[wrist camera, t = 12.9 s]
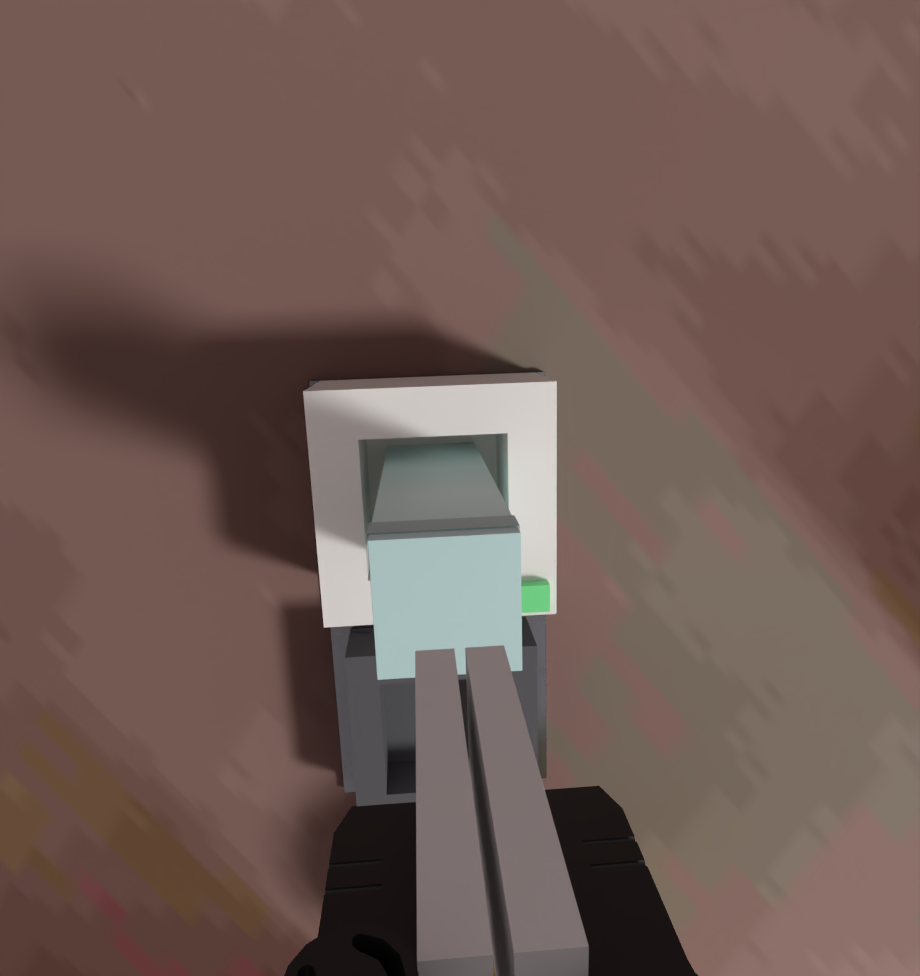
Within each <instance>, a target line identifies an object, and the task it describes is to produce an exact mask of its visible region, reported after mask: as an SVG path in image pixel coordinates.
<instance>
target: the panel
mask: <svg viewBox="0 0 920 976" xmlns="http://www.w3.org/2000/svg"><path fill="white" fill-rule="evenodd" d="M517 373H534V372H517ZM535 373H537V374H540V375H542V376H545V372H544V371H543V372H535ZM491 374H508V373H491ZM465 375H482V374H465ZM439 376H456V375H439ZM414 377H431V376H414ZM388 378H405V377H388ZM362 379H379V378H362ZM336 380H353V379H336ZM319 381H328V380H310V381H309V385H310V387H311V386H312V385H314V384H316V383H317V382H319ZM522 619H527V621H528V623H529V626H530V629H531V631H532V634H533V636H534V639H535V642H536V644H537V707H538V768H539V771H540V775H541V778H546V614H544V615H527V616H522ZM365 628H374V625H359V626H342V627H330V630H331V641H332V653H333V665H334V676H335V688H336V700H337V711H338V723H339V735H340V746H341V758H342V770H343V781H344V793H347V792H356V791H355V779H354V767H353V754H352V742H351V730H350V717H349V705H348V693H347V681H346V668H345V654H346V649H347V644H348V639H349V634H350V629H365Z"/></svg>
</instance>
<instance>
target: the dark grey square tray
mask: <svg viewBox="0 0 920 976" xmlns="http://www.w3.org/2000/svg"><path fill="white" fill-rule="evenodd" d="M345 668H346V681H347V693H348V705H349V717H350V730H351V742H352V754H353V767H354V779H355V791H356V804H357V806H368V805H382V804H395V803H408V802H416V704H415V678H399V679H384V680H378V679H377V668H376V654H375V640H374V628H365V629H350V634H349V639H348V644H347V649H346V654H345ZM511 672H512V676H513V679H514V683H515V686H516V690H517V693H518V697H519V700H520V704H521V707H522V711H523V715H524V718H525V722H526V725H527V729H528V732H529V736H530V739H531V743H532V747H533V750H534V754H535V757H536V761H537V764H538V707H537V644H536V642H535V639H534V636H533V634H532V631H531V629H530V626H529V623H528V621H527V619H522V671H511ZM458 682H459V690H460V698H461V706H462V714H463V722H464V730H465V738H466V745H467V753H468V761H469V743H468V714H467V684H466V674H461V675H458Z"/></svg>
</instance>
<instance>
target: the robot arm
mask: <svg viewBox="0 0 920 976" xmlns="http://www.w3.org/2000/svg"><path fill="white" fill-rule="evenodd" d="M465 655H466V684H467V714H468V743H469V761H468V753H467V745H466V738H465V730H464V722H463V714H462V706H461V698H460V690H459V682H458V674H457V666H456V658H455V650H454V648H452V649H435V650H419V651H415V704H416V802H408V803H395V804H382V805H368V806H355V807H351V809H350V810H349V812H348V813H347V815H346V816H345V818H344V819H343V821H342V822H341V824H340V825H339V826H338V828H337V829H336V831H335V832H334V837H333V843H332V849H331V856H330V862H329V869H328V875H327V882H326V888H325V890H326V891H325V895H324V901H323V907H322V914H321V920H320V927H319V933H318V937H317V938H316V939H314V940H313V941H311V942H309V943H308V944H306V945H305V947H304V948H303V949H302V950H301V951H300V952H299V954H298V955H297V956H296V957H295V958H294V959H293V961H292V962H291V963H290V964H289V965H288V968H287V970H286V973H285V975H284V976H493V961H494V969H495V976H698V975H697V974H696V973H695V972H694V970H693V968H692V967H691V965H690V963H689V961H688V960H687V957H686V955H685V953H684V950H683V948H682V946H681V943H680V941H679V939H678V936H677V934H676V932H675V930H674V927H673V925H672V923H671V920H670V918H669V916H668V913H667V911H666V909H665V906H664V904H663V902H662V899H661V897H660V895H659V892H658V890H657V888H656V885H655V883H654V881H653V878H652V876H651V874H650V871H649V869H648V867H647V866H645V860H644V858H643V855H642V853H641V851H640V848H639V846H638V844H637V842H635V838H634V834H633V832H632V830H631V827H630V825H629V823H628V820H627V818H626V816H625V813H624V811H623V809H622V808H621V807H620V806H619V805H618V804H617V803H616V802H615V801H614V800H613V799H612V798H611V797H610V796H609V795H608V794H607V793H606V792H605V791H604V790H603V789H602V788H601V787H599V786H591V787H578V788H564V789H551V790H545V789H544V786H543V782H542V779H541V775H540V771H539V768H538V764H537V761H536V757H535V754H534V750H533V747H532V743H531V739H530V736H529V732H528V729H527V725H526V722H525V718H524V715H523V711H522V707H521V704H520V700H519V697H518V693H517V690H516V686H515V683H514V679H513V676H512V672H511V668H510V665H509V661H508V658H507V654H506V651H505V647H504V645H500V646H484V647H468V648H465Z"/></svg>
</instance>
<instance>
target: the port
mask: <svg viewBox="0 0 920 976" xmlns="http://www.w3.org/2000/svg"><path fill="white" fill-rule="evenodd" d="M303 397H304V409H305V420H306V431H307V443H308V454H309V465H310V477H311V488H312V499H313V511H314V522H315V533H316V544H317V556H318V567H319V578H320V590H321V601H322V612H323V624H324V628H325V627H342V626H359V625H373V611H372V596H371V582H370V567H369V553H368V538H367V532H368V527H369V523H371V522H372V519H373V514H374V509H375V504H376V500H377V495H378V490H379V485H380V480H381V476H382V471H383V466H384V461H385V456H386V451H387V447H388V446H397V445H419V444H442V443H464V442H474V443H475V445H476V447H477V449H478V450H479V452H480V454H481V456H482V458H483V460H484V462H485V464H486V466H487V468H488V470H489V472H490V474H491V476H492V478H493V480H494V482H495V484H496V486H497V488H498V489H499V491H500V493H501V495H502V497H503V499H504V501H505V503H506V505H507V507H508V509H509V511H510V513H511V515H514V516H515V517H516V519H517V521H518V523H519V525H520V532H521V593H522V616H527V615H544V614H556V481H557V381H555V380H552V379H550V378H547V377H545V376H542V375H540V374H537V373H535V372H534V373H508V374H482V375H456V376H431V377H405V378H379V379H353V380H328V381H319V382H317V383H316V384H314V385H312V386H311V387H309V388H308V389H306V390H304V391H303Z"/></svg>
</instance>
